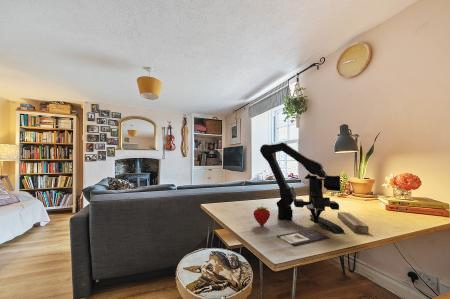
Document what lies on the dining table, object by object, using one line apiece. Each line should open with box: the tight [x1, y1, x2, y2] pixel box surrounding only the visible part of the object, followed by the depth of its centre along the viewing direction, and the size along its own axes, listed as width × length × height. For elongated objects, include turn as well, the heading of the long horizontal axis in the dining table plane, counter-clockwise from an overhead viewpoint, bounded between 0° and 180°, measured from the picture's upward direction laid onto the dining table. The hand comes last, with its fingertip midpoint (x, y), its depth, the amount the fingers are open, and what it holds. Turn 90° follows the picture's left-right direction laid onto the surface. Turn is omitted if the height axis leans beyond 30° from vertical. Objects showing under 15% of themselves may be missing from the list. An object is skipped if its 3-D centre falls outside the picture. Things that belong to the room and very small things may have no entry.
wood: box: [309, 214, 346, 235], centre depth 95 cm, size 22×7×3 cm, turn 8°
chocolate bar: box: [276, 228, 331, 247], centre depth 80 cm, size 9×1×18 cm
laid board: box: [337, 211, 369, 234], centre depth 95 cm, size 6×20×3 cm, turn 168°
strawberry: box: [253, 203, 271, 227], centre depth 92 cm, size 6×8×10 cm
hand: (315, 222), depth 96 cm, fingers closed
